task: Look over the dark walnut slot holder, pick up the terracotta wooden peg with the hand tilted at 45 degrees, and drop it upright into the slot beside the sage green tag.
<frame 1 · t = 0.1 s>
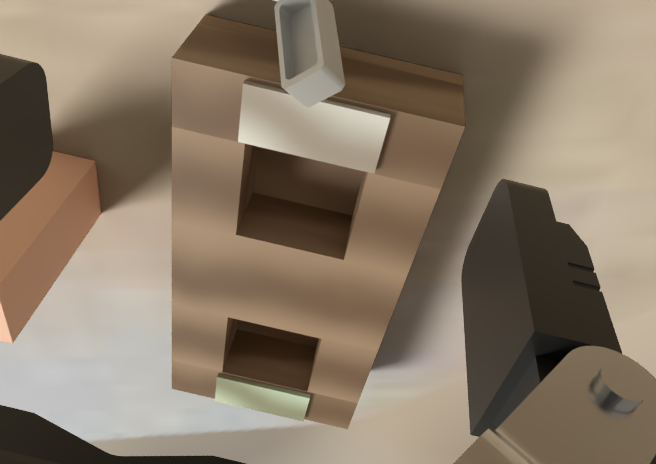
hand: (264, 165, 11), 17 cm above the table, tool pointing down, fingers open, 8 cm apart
peg: (65, 180, 35), on the table
slot holder: (297, 235, 35), on the table
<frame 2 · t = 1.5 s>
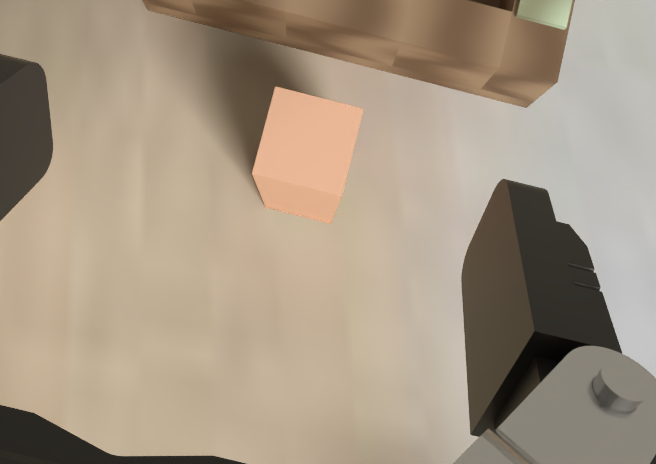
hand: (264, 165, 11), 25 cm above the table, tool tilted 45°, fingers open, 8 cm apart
peg: (306, 183, 36), on the table
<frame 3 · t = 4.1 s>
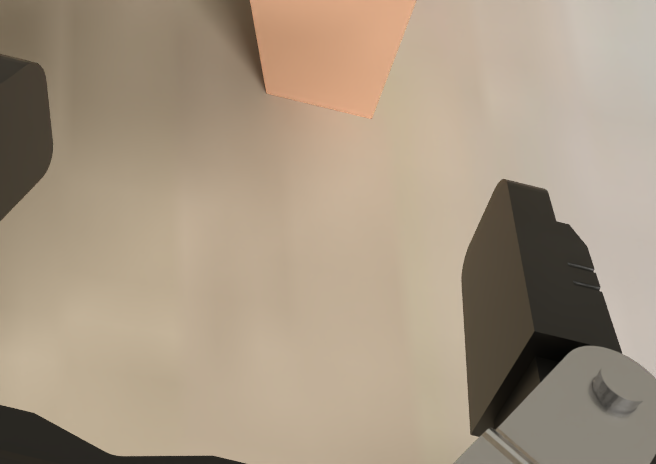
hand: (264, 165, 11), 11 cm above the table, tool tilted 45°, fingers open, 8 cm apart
peg: (331, 55, 22), on the table
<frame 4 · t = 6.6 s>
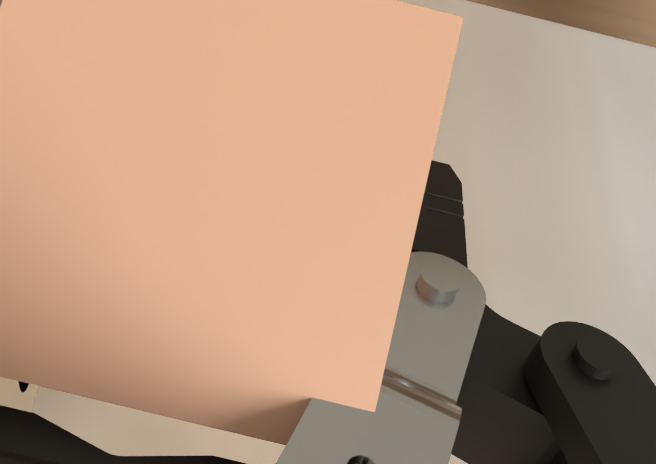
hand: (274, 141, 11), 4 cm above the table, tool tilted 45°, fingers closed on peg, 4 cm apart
peg: (264, 257, 15), on the table, touching gripper
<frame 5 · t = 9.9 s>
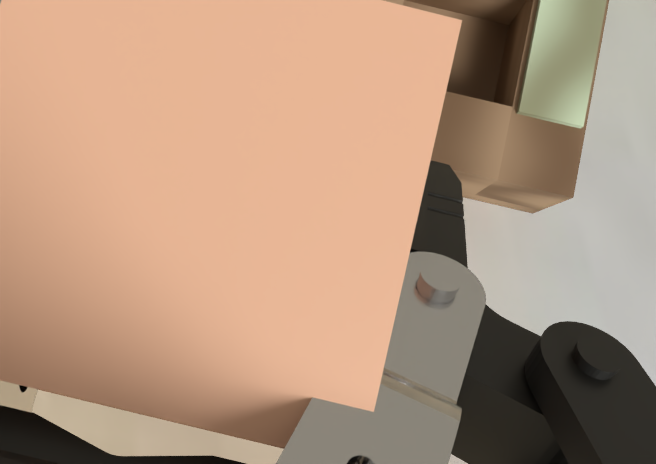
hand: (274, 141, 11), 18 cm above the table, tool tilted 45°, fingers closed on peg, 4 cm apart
peg: (264, 259, 15), point 14 cm above the table, touching gripper
slot holder: (323, 44, 30), on the table
when the fingers open (6 cm above the table, at t = 13.1 s): peg stays where it is, resting on slot holder.
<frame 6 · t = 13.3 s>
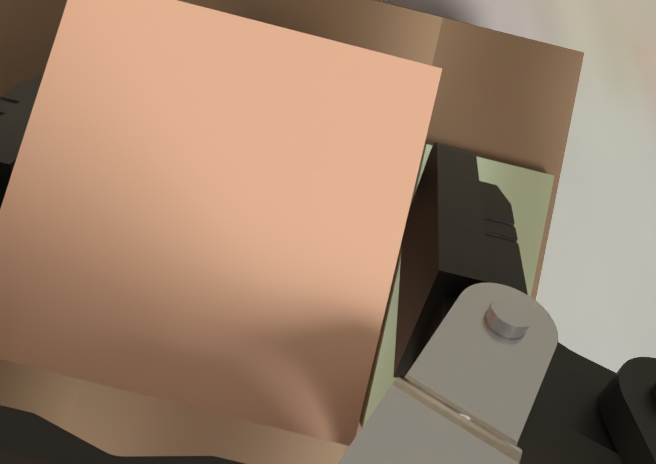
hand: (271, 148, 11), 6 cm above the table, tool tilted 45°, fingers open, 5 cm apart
peg: (267, 262, 16), point 1 cm above the table, touching slot holder
slot holder: (62, 212, 17), on the table
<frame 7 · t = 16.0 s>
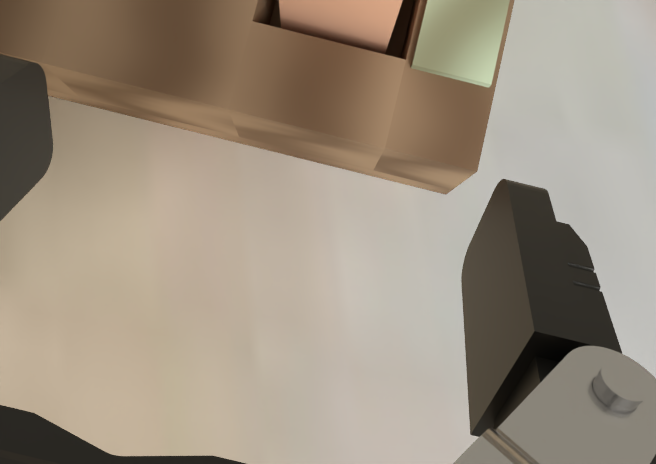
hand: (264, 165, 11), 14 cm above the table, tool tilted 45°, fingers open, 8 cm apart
peg: (342, 16, 25), point 1 cm above the table, touching slot holder
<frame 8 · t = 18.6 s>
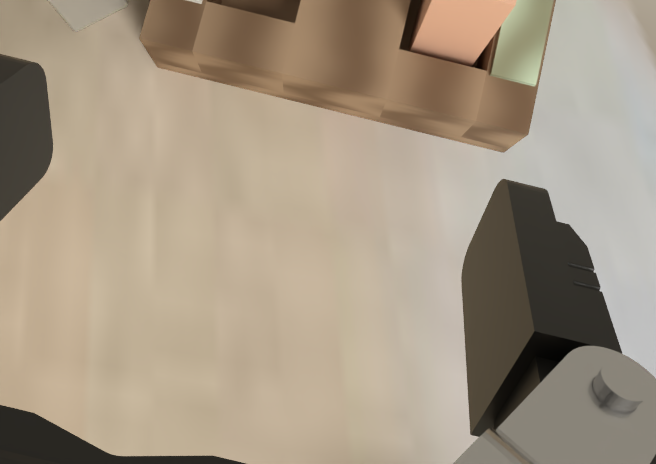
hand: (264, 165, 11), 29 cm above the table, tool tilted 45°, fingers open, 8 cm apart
peg: (440, 43, 40), point 1 cm above the table, touching slot holder
slot holder: (351, 27, 41), on the table
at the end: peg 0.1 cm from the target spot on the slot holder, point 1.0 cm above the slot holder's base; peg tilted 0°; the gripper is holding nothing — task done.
